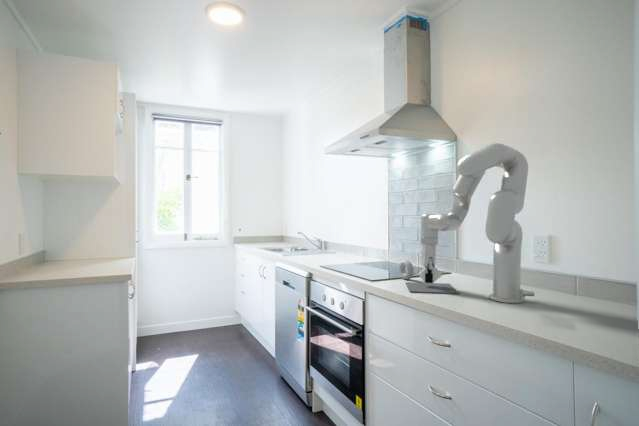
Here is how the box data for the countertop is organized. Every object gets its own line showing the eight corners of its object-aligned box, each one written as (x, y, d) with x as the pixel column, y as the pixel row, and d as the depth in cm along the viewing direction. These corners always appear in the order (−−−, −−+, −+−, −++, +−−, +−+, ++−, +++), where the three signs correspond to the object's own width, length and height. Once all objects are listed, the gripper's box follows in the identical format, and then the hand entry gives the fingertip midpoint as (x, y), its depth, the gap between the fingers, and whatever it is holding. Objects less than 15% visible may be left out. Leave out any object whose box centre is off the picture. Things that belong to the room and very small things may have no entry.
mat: (449, 284, 172) (449, 283, 172) (459, 294, 152) (459, 292, 152) (405, 283, 175) (405, 282, 175) (410, 292, 155) (410, 291, 155)
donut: (396, 278, 189) (396, 258, 189) (402, 277, 191) (402, 258, 191) (409, 281, 180) (409, 261, 180) (415, 280, 182) (415, 260, 182)
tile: (441, 274, 166) (431, 262, 166) (442, 275, 164) (431, 263, 164) (428, 285, 167) (417, 273, 167) (428, 286, 165) (418, 274, 165)
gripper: (418, 239, 174) (417, 278, 174) (423, 242, 158) (422, 285, 158) (434, 240, 173) (433, 278, 173) (441, 243, 157) (440, 286, 157)
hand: (428, 281), depth 166 cm, fingers closed on tile, 2 cm apart
